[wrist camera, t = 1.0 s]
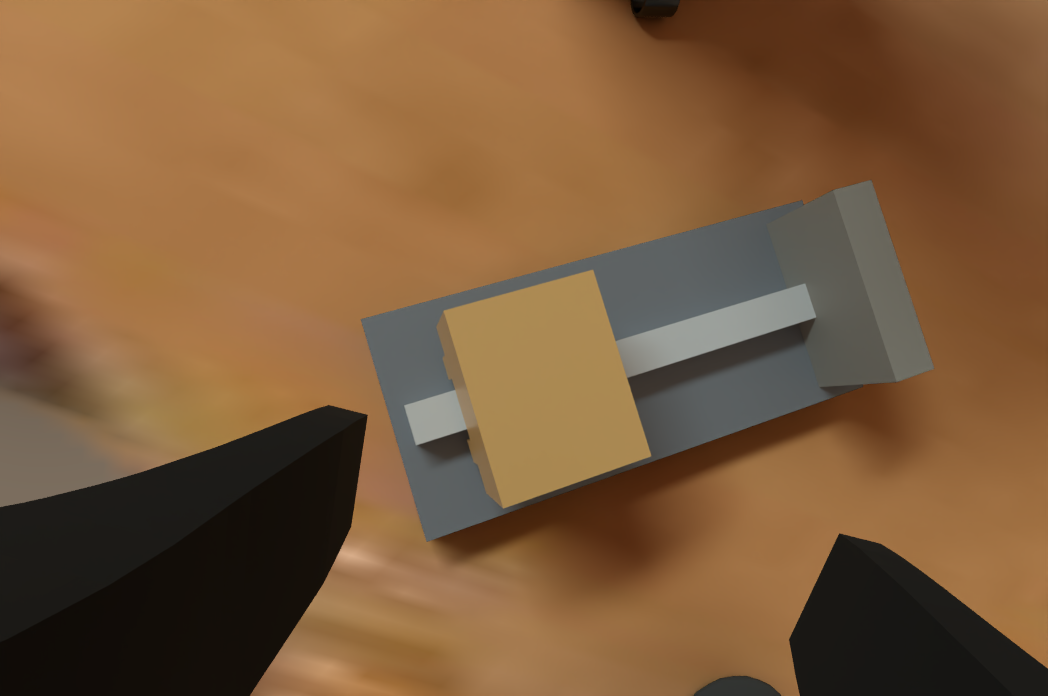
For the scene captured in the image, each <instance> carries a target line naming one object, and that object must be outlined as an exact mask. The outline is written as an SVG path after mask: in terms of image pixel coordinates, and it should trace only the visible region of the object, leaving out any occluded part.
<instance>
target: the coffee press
mask: <svg viewBox="0 0 1048 696" xmlns="http://www.w3.org/2000/svg"><path fill="white" fill-rule="evenodd" d="M679 2H680V0H631V8H632V12H633V14H634V16H635V17H672V16H673V15H674V14H675V12H676V10H677V8H678V5H679Z"/></svg>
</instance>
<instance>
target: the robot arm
mask: <svg viewBox="0 0 1048 696" xmlns="http://www.w3.org/2000/svg"><path fill="white" fill-rule="evenodd" d="M367 416H368V415H366V414H362V413H358V412H354V411H350V410H346V409H342V408H338V407H334V406H330V405H328V406H325V407H321V408H318V409H315V410H312V411H309V412H307V413H304V414H301V415H299V416H296V417H293V418H291V419H288V420H286V421H283V422H281V423H278V424H276V425H273V426H270V427H268V428H265V429H263V430H260V431H257V432H255V433H252V434H250V435H247V436H244V437H242V438H239V439H237V440H234V441H231V442H229V443H226V444H223V445H221V446H218V447H215V448H212V449H209V450H206V451H203V452H200V453H198V454H195V455H192V456H189V457H186V458H183V459H180V460H177V461H174V462H171V463H168V464H165V465H162V466H159V467H156V468H153V469H150V470H147V471H144V472H141V473H137V474H134V475H131V476H127V477H124V478H120V479H117V480H113V481H109V482H106V483H102V484H99V485H95V486H91V487H87V488H83V489H79V490H75V491H71V492H67V493H63V494H59V495H55V496H51V497H47V498H43V499H38V500H34V501H29V502H25V503H20V504H15V505H9V506H4V507H0V696H250V694H251V693H252V691H253V690H254V688H255V687H256V685H257V684H258V682H259V681H260V679H261V678H262V676H263V675H264V673H265V672H266V670H267V669H268V667H269V666H270V664H271V663H272V661H273V660H274V658H275V656H276V655H277V653H278V652H279V650H280V649H281V647H282V646H283V644H284V643H285V641H286V640H287V638H288V637H289V635H290V634H291V632H292V631H293V629H294V628H295V626H296V625H297V623H298V622H299V620H300V619H301V617H302V616H303V614H304V613H305V611H306V609H307V608H308V606H309V605H310V603H311V602H312V600H313V599H314V597H315V596H316V594H317V593H318V591H319V589H320V588H321V586H322V585H323V583H324V581H325V579H326V577H327V575H328V573H329V571H330V569H331V567H332V565H333V563H334V561H335V559H336V557H337V555H338V553H339V551H340V549H341V547H342V545H343V543H344V541H345V538H346V536H347V534H348V532H349V530H350V528H351V524H352V517H353V510H354V504H355V497H356V490H357V483H358V477H359V470H360V463H361V456H362V450H363V443H364V436H365V430H366V423H367ZM789 641H790V647H791V652H792V658H793V664H794V669H795V675H796V680H797V684H798V689H799V693H800V696H1048V669H1047V668H1046V667H1045V666H1043V665H1042V664H1041V663H1040V662H1038V661H1037V660H1036V659H1034V658H1033V657H1032V656H1030V655H1029V654H1028V653H1026V652H1025V651H1024V650H1023V649H1021V648H1020V647H1019V646H1017V645H1016V644H1015V643H1014V642H1012V641H1011V640H1010V639H1008V638H1007V637H1006V636H1005V635H1003V634H1002V633H1001V632H999V631H998V630H997V629H996V628H994V627H993V626H992V625H990V624H989V623H988V622H987V621H985V620H984V619H983V618H981V617H980V616H979V615H978V614H976V613H975V612H974V611H972V610H971V609H970V608H969V607H967V606H966V605H965V604H963V603H962V602H961V601H960V600H958V599H957V598H956V597H954V596H953V595H952V594H951V593H949V592H948V591H947V590H945V589H944V588H943V587H942V586H940V585H939V584H938V583H936V582H935V581H934V580H932V579H931V578H930V577H928V576H927V575H926V574H924V573H923V572H922V571H920V570H919V569H918V568H916V567H915V566H913V565H912V564H911V563H909V562H908V561H906V560H905V559H904V558H902V557H901V556H899V555H898V554H896V553H895V552H893V551H891V550H890V549H888V548H887V547H885V546H883V545H882V544H879V543H875V542H871V541H867V540H863V539H859V538H855V537H851V536H847V535H843V534H839V535H838V537H837V539H836V542H835V544H834V546H833V548H832V550H831V552H830V554H829V556H828V558H827V561H826V563H825V565H824V567H823V569H822V571H821V573H820V575H819V577H818V580H817V582H816V584H815V586H814V588H813V590H812V592H811V594H810V596H809V599H808V601H807V603H806V605H805V607H804V609H803V611H802V613H801V615H800V618H799V620H798V622H797V624H796V626H795V628H794V630H793V632H792V634H791V637H790V639H789Z"/></svg>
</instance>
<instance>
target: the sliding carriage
mask: <svg viewBox="0 0 1048 696" xmlns="http://www.w3.org/2000/svg"><path fill="white" fill-rule="evenodd" d="M436 328H437V331H438V335H439V338H440V341H441V345H442V348H443V351H444V357H443V358H442V359H443V362H444V365H445V369H446V372H447V375H448V379H449V380H451V379H452V381H453V384H454V388H455V391H456V394H457V398H458V401H459V404H460V408H461V411H462V414H463V418H464V421H465V424H466V428H467V431H468V434H469V438H470V439H468V440H467V442H468V445H469V449H470V452H471V455H472V458H473V462H474V463H476V464H477V465H478V467H479V471H480V474H481V477H482V481H483V484H484V487H485V491H486V493H487V494H488V495H489V496H490V497H491V498H492V499H493V500H494V501H495V502H497V503H498V504H499V505H500V506H501V507H502V508H503V509H504V508H506V507H509V506H512V505H515V504H518V503H520V502H523V501H526V500H529V499H532V498H535V497H537V496H540V495H543V494H546V493H549V492H552V491H554V490H557V489H560V488H563V487H566V486H569V485H571V484H574V483H577V482H580V481H583V480H586V479H588V478H591V477H594V476H597V475H600V474H603V473H605V472H608V471H611V470H614V469H617V468H620V467H622V466H625V465H628V464H631V463H634V462H637V461H639V460H642V459H645V458H648V457H651V453H650V450H649V446H648V443H647V440H646V437H645V434H644V431H643V427H642V424H641V421H640V418H639V415H638V411H637V408H636V405H635V402H634V399H633V395H632V392H631V389H630V386H629V383H628V379H627V376H626V373H625V370H624V367H623V363H622V360H621V357H620V354H619V351H618V347H617V344H616V341H615V338H614V335H613V332H612V328H611V325H610V322H609V319H608V316H607V312H606V309H605V306H604V303H603V300H602V296H601V293H600V290H599V287H598V284H597V280H596V277H595V274H594V271H593V270H590V271H586V272H582V273H579V274H575V275H571V276H568V277H564V278H561V279H557V280H553V281H550V282H546V283H542V284H539V285H535V286H531V287H528V288H524V289H520V290H517V291H513V292H510V293H506V294H502V295H499V296H495V297H491V298H488V299H484V300H480V301H477V302H473V303H470V304H466V305H462V306H459V307H455V308H451V309H448V310H444V311H443V313H442V315H441V318H440V320H439V322H438V324H437V327H436Z"/></svg>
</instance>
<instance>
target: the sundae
mask: <svg viewBox="0 0 1048 696" xmlns="http://www.w3.org/2000/svg"><path fill="white" fill-rule="evenodd" d="M694 696H781V695H780V694H779V693H778V692H777V691H776V690H775V689H774V688H773V687H772V686H770V685H769V684H767V683H764V682H762V681H760V680H758V679H754V678H751V677H748V676H732V677H726V678H720V679H718V680H716V681H714V682H712V683H710V684H708V685H706V686H705V687H703V688H702V689H700V690H699V691H697V692H696V693H695V694H694Z"/></svg>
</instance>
